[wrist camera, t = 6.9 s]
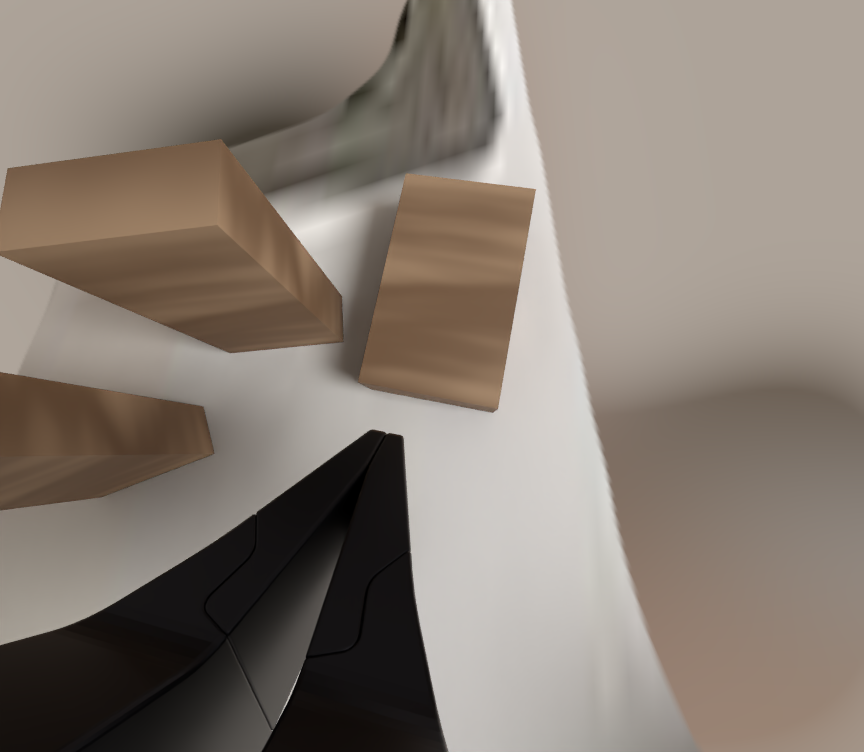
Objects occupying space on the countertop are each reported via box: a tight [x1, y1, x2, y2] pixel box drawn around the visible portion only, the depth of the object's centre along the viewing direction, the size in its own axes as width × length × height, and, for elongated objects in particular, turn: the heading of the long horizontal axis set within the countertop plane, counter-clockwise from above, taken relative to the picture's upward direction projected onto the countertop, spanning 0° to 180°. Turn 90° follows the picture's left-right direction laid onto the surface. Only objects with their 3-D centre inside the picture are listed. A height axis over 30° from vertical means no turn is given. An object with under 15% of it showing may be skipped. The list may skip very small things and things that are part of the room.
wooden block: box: [358, 174, 536, 412], centre depth 17 cm, size 3×6×10 cm
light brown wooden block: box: [0, 140, 343, 353], centre depth 14 cm, size 3×6×10 cm, turn 95°
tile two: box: [0, 372, 214, 510], centre depth 14 cm, size 3×6×10 cm, turn 111°
